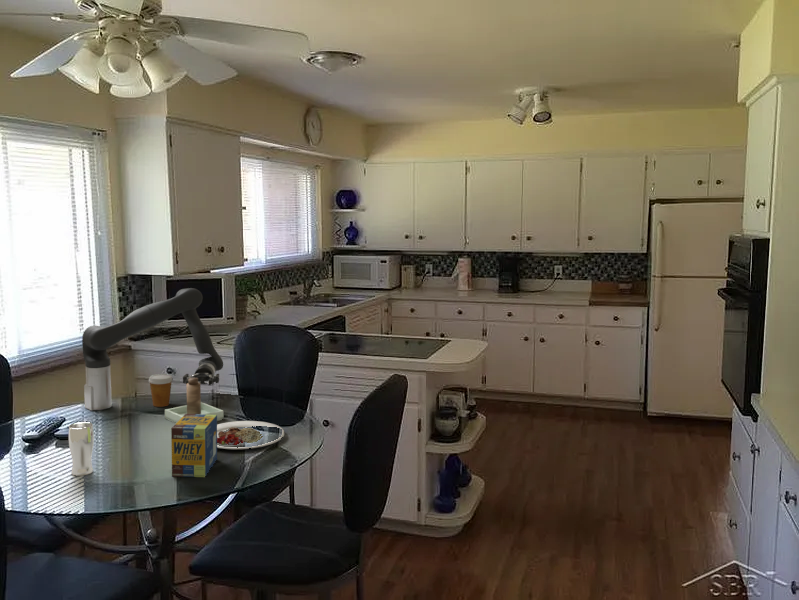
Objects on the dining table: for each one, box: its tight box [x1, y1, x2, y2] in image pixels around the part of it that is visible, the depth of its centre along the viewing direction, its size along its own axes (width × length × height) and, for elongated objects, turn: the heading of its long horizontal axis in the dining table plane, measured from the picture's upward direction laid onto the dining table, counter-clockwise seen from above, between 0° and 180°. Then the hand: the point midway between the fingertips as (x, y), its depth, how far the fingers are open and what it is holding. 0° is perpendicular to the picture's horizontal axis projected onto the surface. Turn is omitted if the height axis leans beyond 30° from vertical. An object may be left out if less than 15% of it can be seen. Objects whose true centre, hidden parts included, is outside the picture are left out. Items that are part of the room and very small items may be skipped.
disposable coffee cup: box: [148, 373, 174, 408], centre depth 282 cm, size 10×10×12 cm
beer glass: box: [68, 421, 95, 477], centre depth 209 cm, size 7×7×15 cm
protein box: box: [170, 414, 218, 478], centre depth 215 cm, size 10×15×16 cm
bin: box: [164, 401, 224, 424], centre depth 265 cm, size 16×16×4 cm
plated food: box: [217, 420, 285, 450], centre depth 245 cm, size 30×30×3 cm
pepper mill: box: [185, 378, 202, 414], centre depth 264 cm, size 5×5×15 cm
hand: (198, 382), depth 275 cm, fingers open, 8 cm apart
